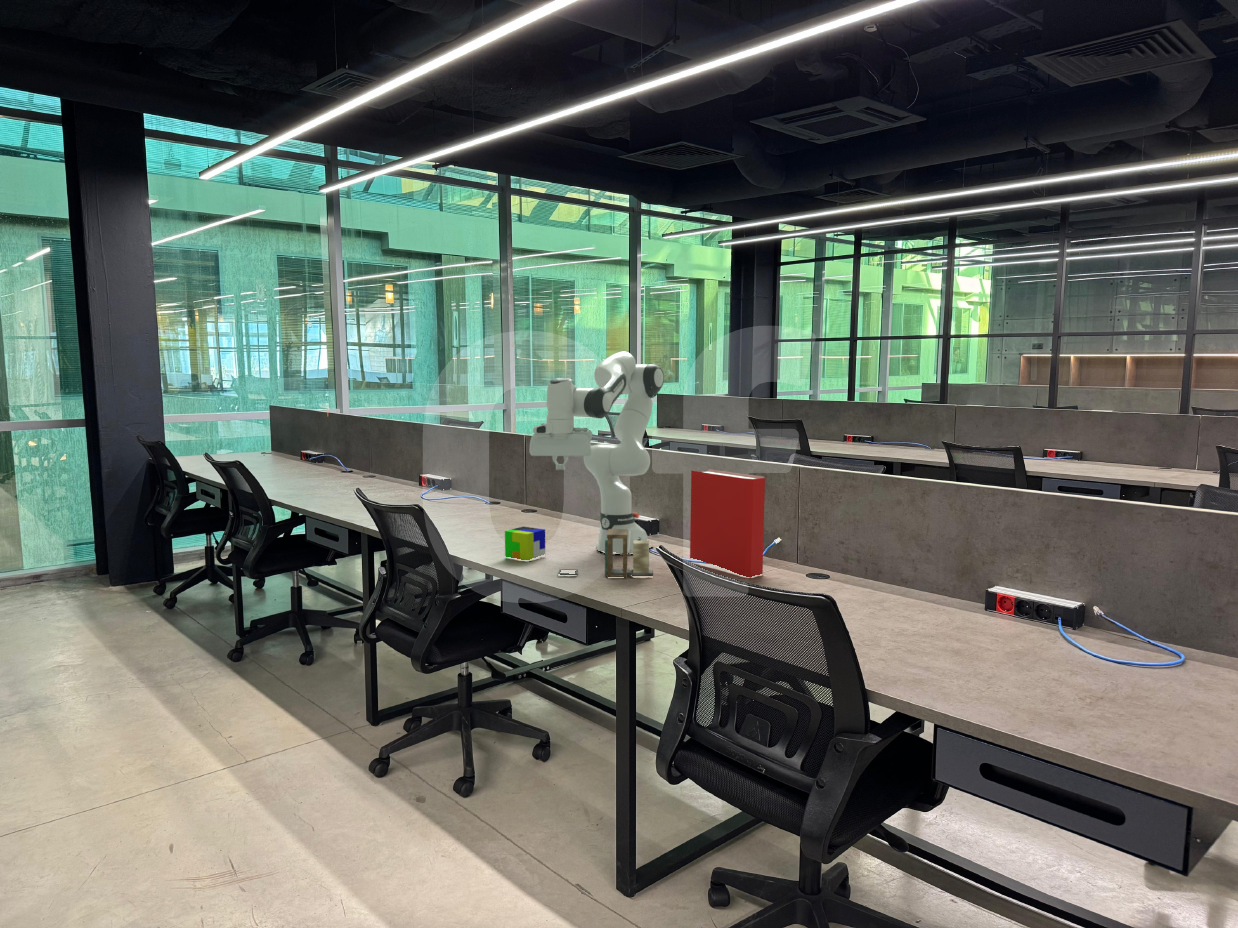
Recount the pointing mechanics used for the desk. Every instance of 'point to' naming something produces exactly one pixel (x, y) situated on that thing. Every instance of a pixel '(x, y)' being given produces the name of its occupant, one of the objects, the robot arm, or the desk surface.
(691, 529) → the book
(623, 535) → the tunnel
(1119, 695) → the desk surface
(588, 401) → the robot arm
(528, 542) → the puzzle toy
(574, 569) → the tray
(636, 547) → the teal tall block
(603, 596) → the desk surface
